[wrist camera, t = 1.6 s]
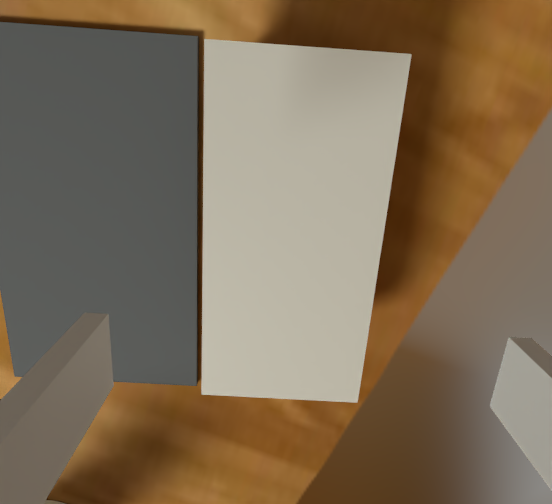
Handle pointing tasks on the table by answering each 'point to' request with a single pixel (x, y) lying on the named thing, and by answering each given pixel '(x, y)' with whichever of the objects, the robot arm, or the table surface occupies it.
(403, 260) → the table surface
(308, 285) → the lid
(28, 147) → the rubber mat
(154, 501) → the table surface
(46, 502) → the water bottle
